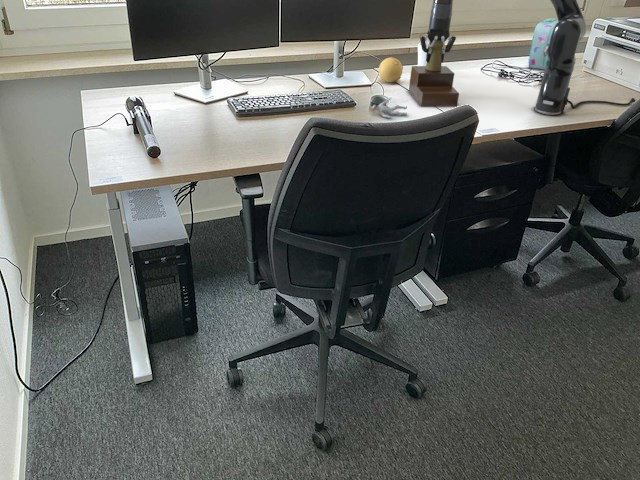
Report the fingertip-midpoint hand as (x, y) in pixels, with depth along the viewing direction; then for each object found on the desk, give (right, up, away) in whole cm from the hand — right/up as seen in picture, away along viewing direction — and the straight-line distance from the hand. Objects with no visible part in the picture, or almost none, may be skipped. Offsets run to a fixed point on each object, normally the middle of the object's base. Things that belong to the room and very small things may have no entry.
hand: (434, 63), depth 207 cm
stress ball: (-15, -2, +20) cm, 25 cm away
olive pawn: (0, -2, +1) cm, 2 cm away
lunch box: (+62, +15, +50) cm, 81 cm away
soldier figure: (-19, -23, -14) cm, 33 cm away
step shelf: (0, -13, +3) cm, 13 cm away
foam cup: (+2, +4, +30) cm, 30 cm away
